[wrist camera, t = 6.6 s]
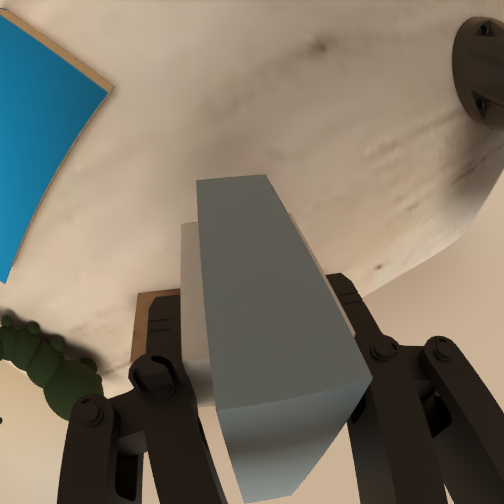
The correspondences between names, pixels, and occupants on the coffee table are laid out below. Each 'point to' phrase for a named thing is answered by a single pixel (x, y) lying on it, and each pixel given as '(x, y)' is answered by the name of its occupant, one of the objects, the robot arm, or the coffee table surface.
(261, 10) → the coffee table surface
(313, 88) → the coffee table surface
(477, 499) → the robot arm
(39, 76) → the book
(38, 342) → the toy figurine
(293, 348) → the slate plate
